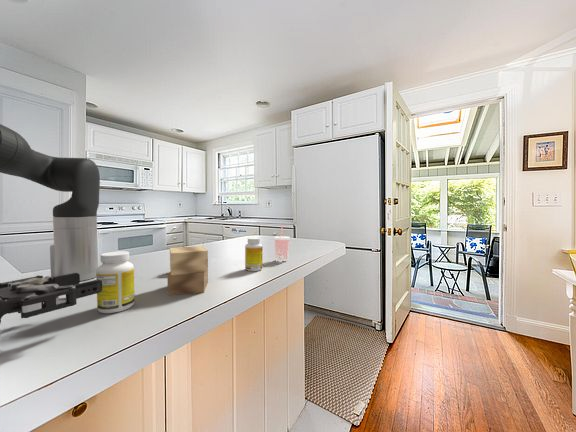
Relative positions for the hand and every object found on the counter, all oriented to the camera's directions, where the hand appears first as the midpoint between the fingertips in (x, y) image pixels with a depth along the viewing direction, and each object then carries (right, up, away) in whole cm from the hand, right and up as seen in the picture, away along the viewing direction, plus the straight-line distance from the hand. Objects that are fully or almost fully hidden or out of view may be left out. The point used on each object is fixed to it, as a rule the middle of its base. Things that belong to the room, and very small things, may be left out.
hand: (89, 281), depth 46 cm
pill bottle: (+2, -7, +4) cm, 8 cm away
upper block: (+12, -1, +16) cm, 20 cm away
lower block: (+12, -6, +16) cm, 21 cm away
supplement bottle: (+26, -5, +35) cm, 43 cm away
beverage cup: (+34, -5, +48) cm, 59 cm away
